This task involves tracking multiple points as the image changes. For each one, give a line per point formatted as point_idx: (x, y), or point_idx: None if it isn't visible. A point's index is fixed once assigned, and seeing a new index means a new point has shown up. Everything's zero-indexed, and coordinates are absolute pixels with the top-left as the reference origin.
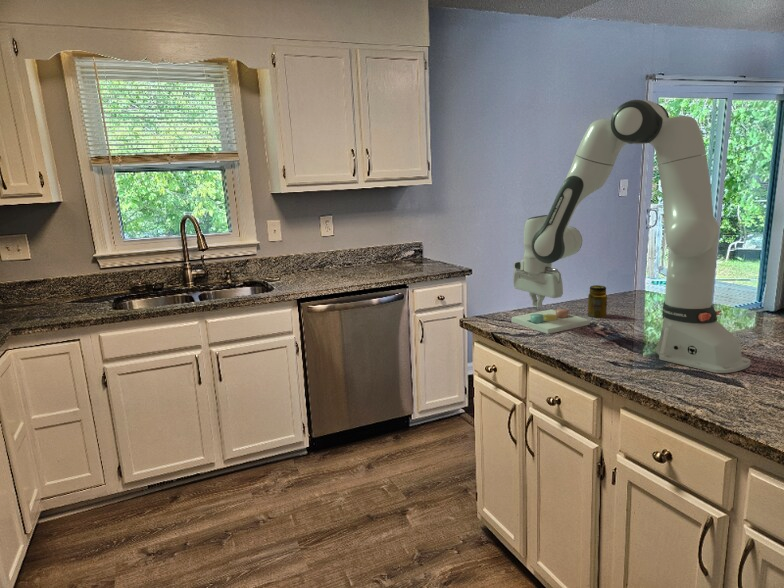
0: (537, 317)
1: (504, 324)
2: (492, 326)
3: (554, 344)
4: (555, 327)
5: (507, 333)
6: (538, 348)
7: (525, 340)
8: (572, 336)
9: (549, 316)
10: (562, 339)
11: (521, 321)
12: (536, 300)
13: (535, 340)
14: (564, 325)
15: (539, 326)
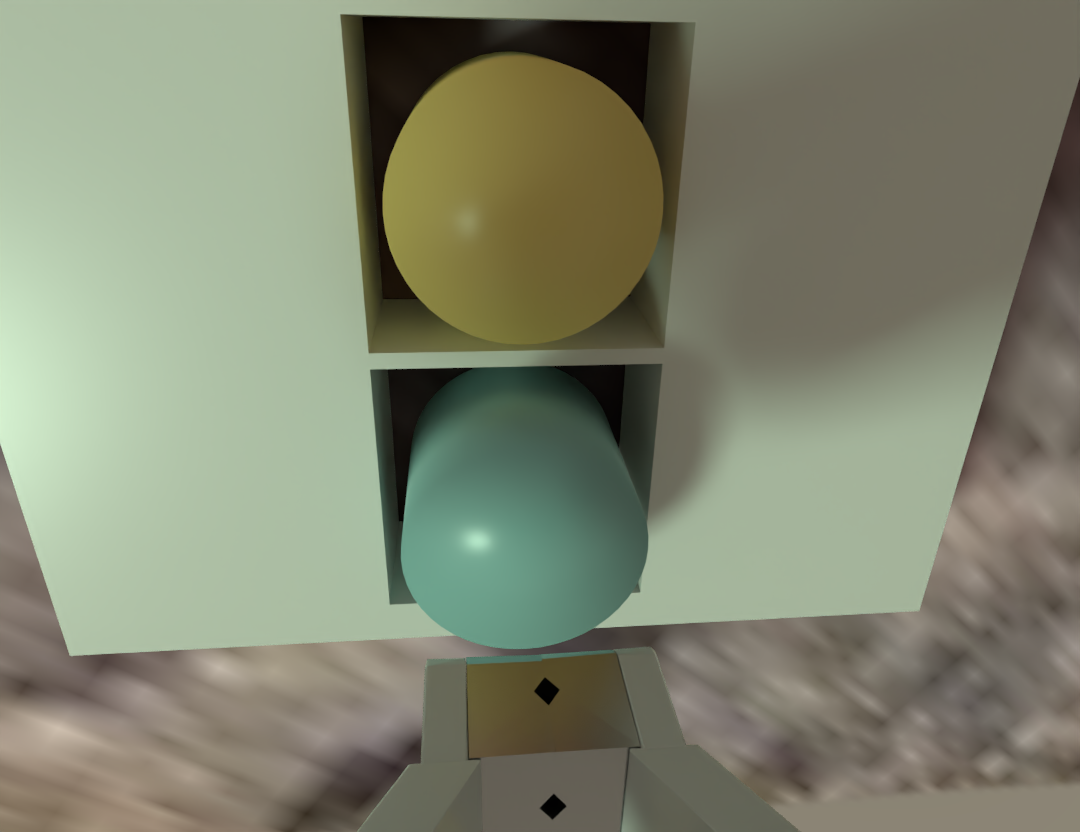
0: (615, 602)
1: (19, 599)
2: (50, 744)
3: (1031, 598)
4: (954, 489)
5: (416, 746)
6: (974, 757)
7: (731, 730)
8: (1052, 240)
9: (565, 256)
10: (1011, 429)
11: (343, 631)
12: (475, 783)
13: (803, 663)
14: (1005, 312)
15: (750, 618)
